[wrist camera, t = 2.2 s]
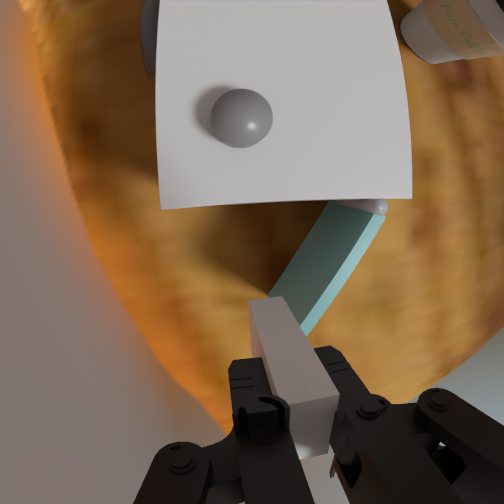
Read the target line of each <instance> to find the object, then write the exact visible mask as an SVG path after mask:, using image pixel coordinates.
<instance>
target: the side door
mask: <svg viewBox="0 0 504 504" xmlns="http://www.w3.org/2000/svg"><path fill="white" fill-rule="evenodd" d="M327 201H328V203H327V205H326V206H325V208H324V210H323V211H322V213H321V214H320V216H319V218H318V219H317V221H316V222H315V224H314V225H313V227H312V229H311V230H310V232H309V233H308V235H307V236H306V238H305V240H304V241H303V243H302V244H301V246H300V247H299V249H298V250H297V252H296V253H295V255H294V257H293V258H292V260H291V261H290V263H289V264H288V266H287V267H286V269H285V270H284V272H283V273H282V275H281V276H280V278H279V279H278V281H277V282H276V284H275V285H274V287H273V288H272V290H271V291H270V293H269V294H268V298H272V297H281V296H282V297H283V298H284V300H285V302H286V303H287V305H288V307H289V309H290V310H291V312H292V314H293V315H294V317H295V319H296V320H297V322H298V324H299V326H300V327H301V329H302V331H303V332H304V334H305V336H306V337H307V335H308V334H309V333H310V331H311V330H312V329H313V327H314V326H315V324H316V323H317V322H318V320H319V319H320V318H321V316H322V315H323V313H324V312H325V311H326V309H327V308H328V306H329V305H330V304H331V302H332V301H333V299H334V298H335V296H336V295H337V294H338V292H339V291H340V289H341V288H342V286H343V285H344V283H345V282H346V280H347V279H348V277H349V276H350V274H351V273H352V271H353V270H354V268H355V267H356V265H357V264H358V262H359V261H360V259H361V257H362V256H363V254H364V253H365V251H366V250H367V248H368V246H369V245H370V243H371V241H372V240H373V238H374V237H375V235H376V233H377V232H378V230H379V228H380V227H381V225H382V223H383V222H384V220H385V218H386V217H385V216H384V214H385V213H386V211H387V209H388V204H387V201H386V200H385V199H347V200H327Z"/></svg>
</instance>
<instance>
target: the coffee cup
mask: <svg viewBox="0 0 504 504" xmlns="http://www.w3.org/2000/svg"><path fill="white" fill-rule="evenodd" d="M400 29H401V34H402V36H403V38H404V40H405V42H406V43H407V45H408V46H409V47H410V48H411V50H412V51H413V52H414V53H415V54H416V55H417V56H418V57H420V58H421V59H422V60H424V61H425V62H427V63H430V64H437V63H442V62H447V61H453V60H458V59H475V58H482V57H490V56H499V55H504V0H423V1H422V2H421V3H419V4H418V5H417V6H416V7H415V8H414V9H413V10H412V11H411V12H409V13H408V14H407V15H406V16H405V17H404V18H403V19H402V21H401V24H400Z"/></svg>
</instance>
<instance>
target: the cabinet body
mask: <svg viewBox="0 0 504 504" xmlns="http://www.w3.org/2000/svg"><path fill="white" fill-rule="evenodd" d="M140 40H141V50H142V56H143V61H144V65H145V69H146V72H147V74H148V76H149V78H150V79H151V80H156V142H157V163H158V179H159V192H160V204H161V210H166V209H177V208H188V207H199V206H212V205H234V204H249V203H266V202H286V201H311V200H347V199H412V155H411V136H410V123H409V112H408V103H407V95H406V87H405V80H404V74H403V68H402V62H401V57H400V52H399V47H398V42H397V38H396V33H395V29H394V25H393V21H392V17H391V14H390V10H389V7H388V3H387V0H144V1H143V4H142V9H141V17H140Z"/></svg>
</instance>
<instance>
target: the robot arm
mask: <svg viewBox="0 0 504 504" xmlns="http://www.w3.org/2000/svg"><path fill="white" fill-rule="evenodd" d="M248 301H249V317H250V333H251V349H252V355H253V358H248V359H239V360H233V361H232V363H231V365H230V367H229V368H228V374H229V384H230V393H231V401H232V410H233V414H232V417H233V424H234V426H233V429H232V431H231V432H230V434H229V435H228V436H227V437H226V438H224V439H223V440H222V441H220V442H217V443H215V444H213V445H209V446H206V447H203V448H201V447H200V446H198V445H196V444H193V443H190V442H175V443H171V444H168V445H166V446H165V447H163V448H161V449H160V450H159V451H158V453H157V454H156V455H155V457H154V459H153V461H152V463H151V465H150V468H149V470H148V472H147V474H146V477H145V479H144V481H143V483H142V485H141V488H140V490H139V492H138V494H137V496H136V499H135V501H134V503H133V504H239V503H242V502H244V501H245V504H315V503H314V500H313V497H312V494H311V491H310V489H309V486H308V483H307V480H306V477H305V474H304V471H303V468H302V465H301V462H300V460H301V459H305V458H310V457H314V456H318V455H323V454H326V453H328V450H329V445H331V447H332V449H333V451H334V454H335V455H334V459H333V462H332V466H331V469H330V478H332V477H334V474H335V471H336V473H337V475H338V478H339V479H340V482H341V485H342V487H343V489H344V491H345V494H346V496H347V498H348V500H349V503H350V504H504V426H503V425H502V424H500V423H499V422H497V421H495V420H494V419H492V418H491V417H489V416H487V415H486V414H484V413H483V412H481V411H480V410H478V409H477V408H475V407H474V406H472V405H471V404H469V403H467V402H466V401H464V400H463V399H461V398H459V397H458V396H457V395H455V394H454V393H452V392H450V391H448V390H445V389H441V388H431V389H428V390H426V391H424V392H423V393H422V394H421V395H420V396H419V398H418V401H417V403H407V404H391V403H390V402H389V401H388V400H387V399H385V398H384V397H382V396H379V395H376V394H370V392H369V391H368V389H367V388H366V387H365V385H364V384H363V382H362V381H361V380H360V378H359V377H358V375H357V374H356V373H355V371H354V370H353V369H352V367H351V366H350V364H349V363H348V362H347V360H346V359H345V357H344V356H343V355H342V353H341V352H340V351H338V350H337V349H335V348H333V347H332V346H324V347H319V348H312V346H311V344H310V343H309V341H308V339H307V337H306V336H305V334H304V332H303V331H302V329H301V327H300V326H299V324H298V322H297V320H296V319H295V317H294V315H293V314H292V312H291V310H290V309H289V307H288V305H287V303H286V302H285V300H284V298H283V297H282V296H281V297H272V298H262V299H252V300H248ZM440 442H442V443H443V444H444V445H446V446H440V445H439V443H440Z"/></svg>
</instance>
